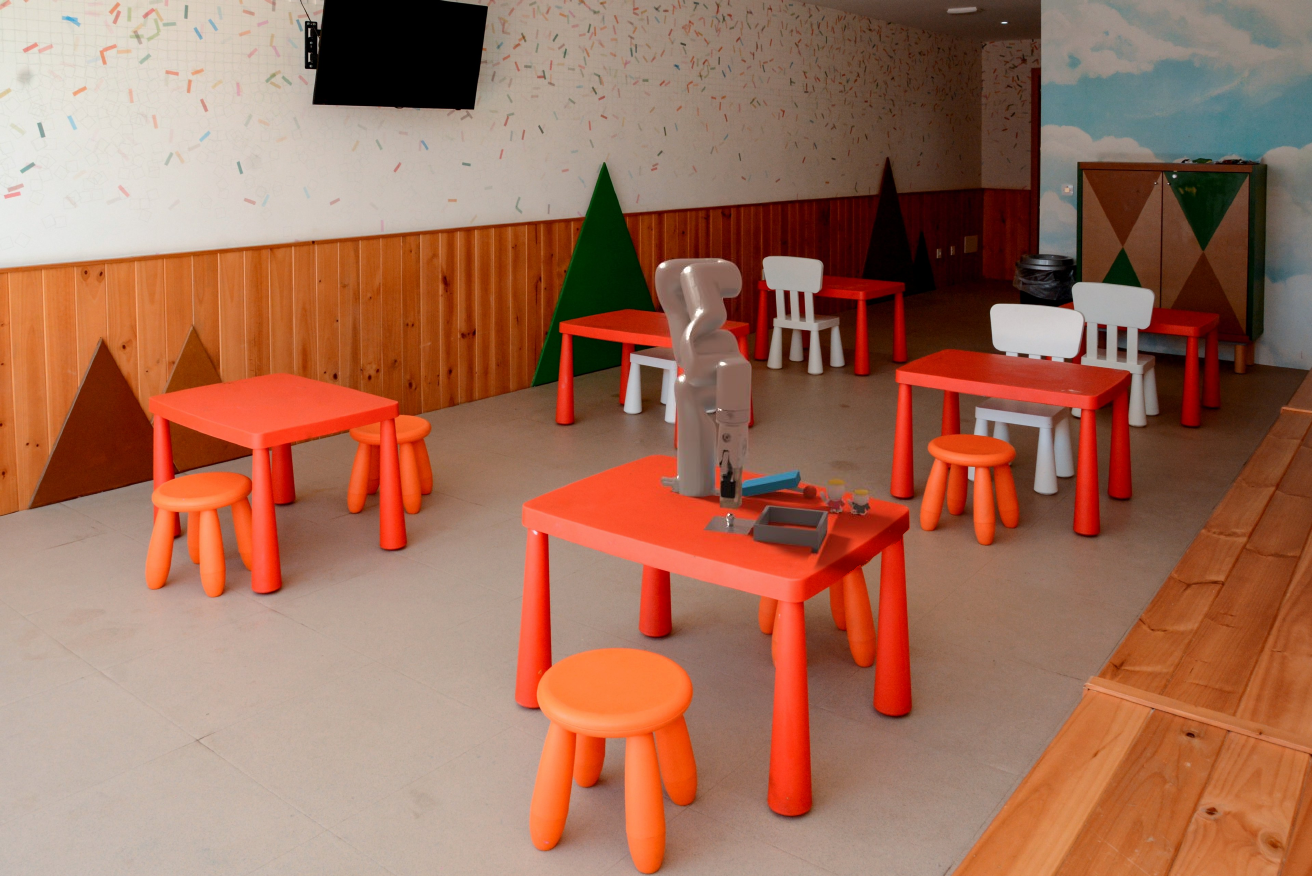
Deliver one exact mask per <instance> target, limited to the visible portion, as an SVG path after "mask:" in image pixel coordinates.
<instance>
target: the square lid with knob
mask: <svg viewBox="0 0 1312 876" xmlns="http://www.w3.org/2000/svg"><path fill="white" fill-rule="evenodd" d="M756 521H757V519H747V518H741V517H740V518H739V517H736V515H735V514H734V513H732V512H729V513H727V514H726V516H721V515H714V516H713V517H712V518H711V520H709V522H708V523H707V524H706V525H705V526H704V528H703V531H709V532H718V533H726V534H737V535H743V536H744V535H746V536H747V535H749V533H750V532H751V530H752V529H753V528H754V524H755V522H756Z"/></svg>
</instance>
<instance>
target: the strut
mask: <svg viewBox="0 0 1312 876" xmlns="http://www.w3.org/2000/svg"><path fill="white" fill-rule="evenodd" d="M743 466H744V465H743ZM743 466H742V467H740V468H739V469H738V470H737V469H735V476H734V481H736V487H735V498H734V499H731V498H723V497H721V473H719V475H720V477H719V490H720V496H719V508H722V509H723V508H724V509H731V510H738V509H739V507H741V506H742V501H743V497H742V484H743ZM728 467H732V465H728ZM719 469H720V471H721V468H720V467H719ZM728 472H730V473H731V470H728Z"/></svg>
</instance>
